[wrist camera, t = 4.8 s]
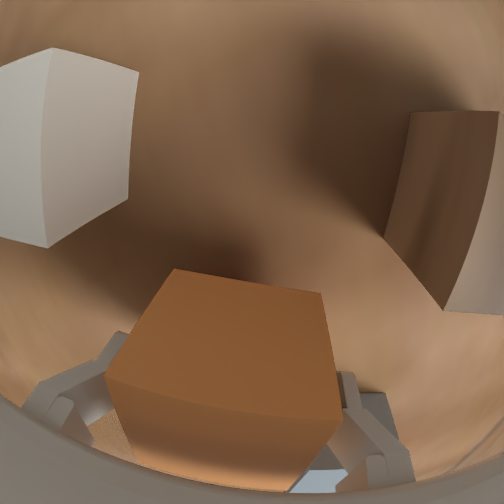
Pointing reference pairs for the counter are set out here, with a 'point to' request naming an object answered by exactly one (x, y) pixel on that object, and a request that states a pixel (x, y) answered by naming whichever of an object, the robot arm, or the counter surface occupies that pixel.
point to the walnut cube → (453, 208)
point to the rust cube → (228, 381)
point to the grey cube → (62, 143)
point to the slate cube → (326, 464)
